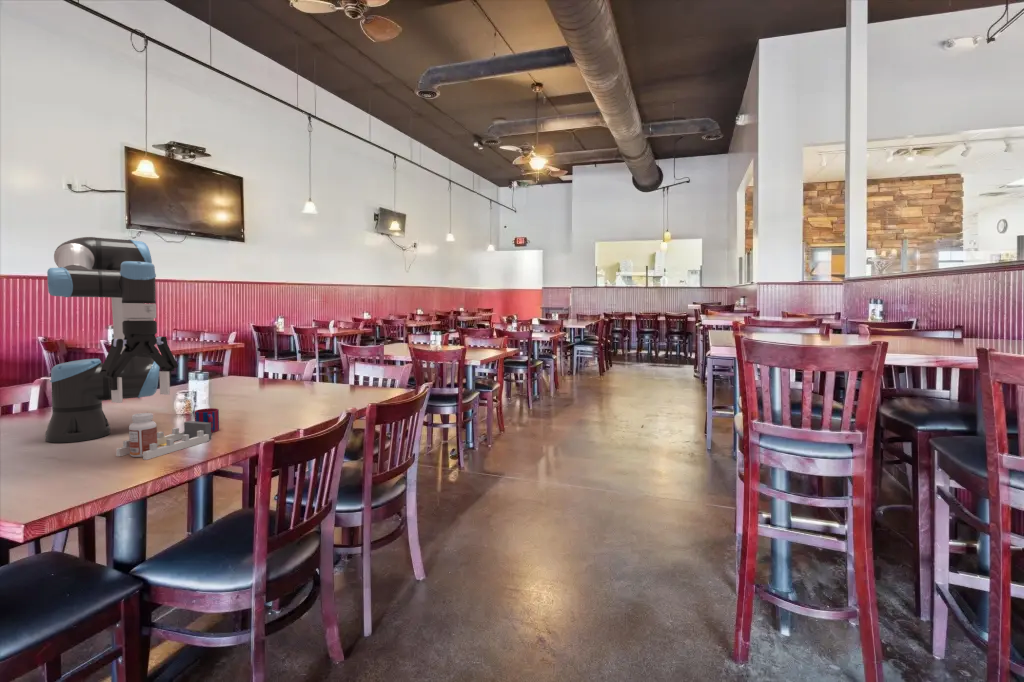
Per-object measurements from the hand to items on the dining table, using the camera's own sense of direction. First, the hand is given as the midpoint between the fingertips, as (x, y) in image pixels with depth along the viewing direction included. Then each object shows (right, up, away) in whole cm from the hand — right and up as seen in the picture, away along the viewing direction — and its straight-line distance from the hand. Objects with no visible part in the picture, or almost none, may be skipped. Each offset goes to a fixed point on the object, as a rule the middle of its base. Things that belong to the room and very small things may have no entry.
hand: (142, 398), depth 139 cm
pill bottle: (0, -16, +1) cm, 16 cm away
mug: (+2, -14, +27) cm, 30 cm away
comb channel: (+1, -15, +8) cm, 17 cm away
